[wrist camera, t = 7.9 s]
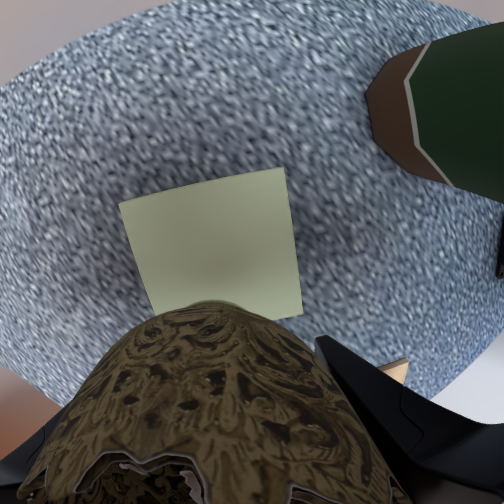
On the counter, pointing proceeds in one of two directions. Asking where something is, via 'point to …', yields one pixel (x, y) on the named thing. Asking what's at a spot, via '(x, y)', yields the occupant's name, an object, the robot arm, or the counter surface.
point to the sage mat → (218, 244)
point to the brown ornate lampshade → (210, 422)
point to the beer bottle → (446, 110)
